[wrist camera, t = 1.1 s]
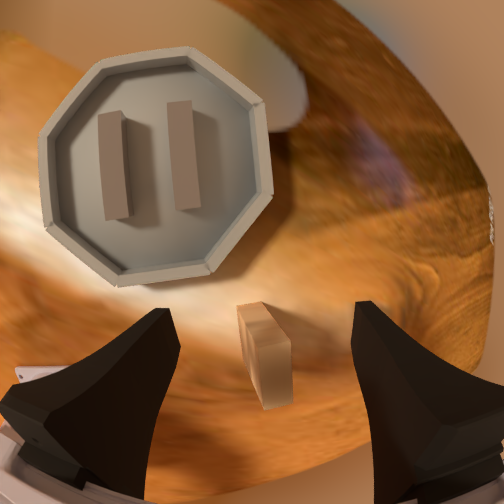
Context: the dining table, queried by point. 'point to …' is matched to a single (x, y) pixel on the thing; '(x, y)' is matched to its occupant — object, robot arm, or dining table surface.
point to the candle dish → (154, 166)
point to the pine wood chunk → (266, 355)
